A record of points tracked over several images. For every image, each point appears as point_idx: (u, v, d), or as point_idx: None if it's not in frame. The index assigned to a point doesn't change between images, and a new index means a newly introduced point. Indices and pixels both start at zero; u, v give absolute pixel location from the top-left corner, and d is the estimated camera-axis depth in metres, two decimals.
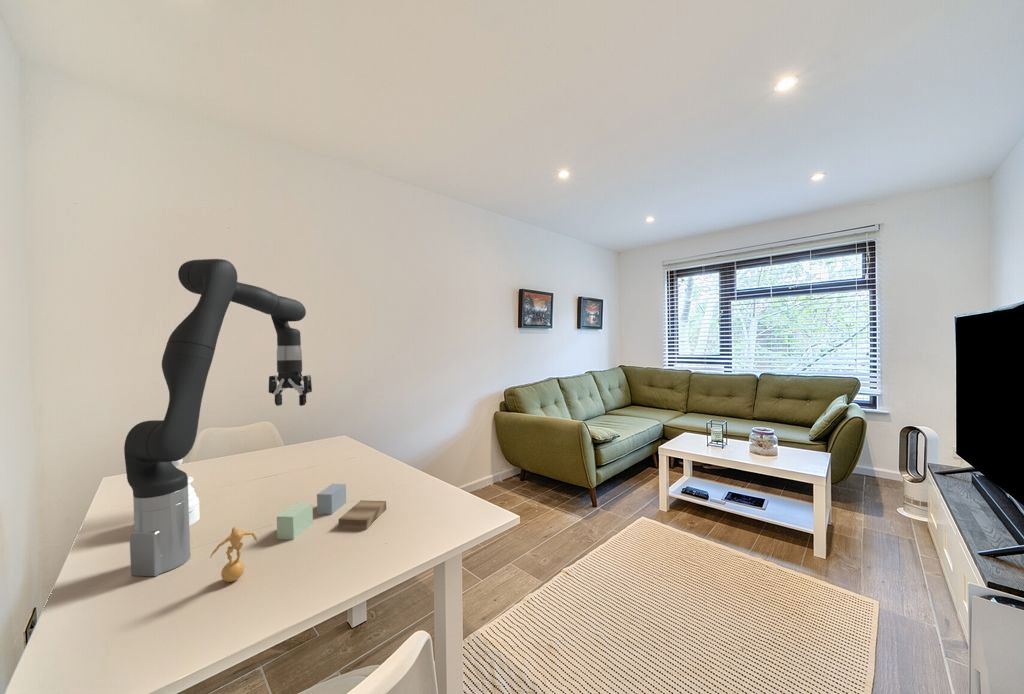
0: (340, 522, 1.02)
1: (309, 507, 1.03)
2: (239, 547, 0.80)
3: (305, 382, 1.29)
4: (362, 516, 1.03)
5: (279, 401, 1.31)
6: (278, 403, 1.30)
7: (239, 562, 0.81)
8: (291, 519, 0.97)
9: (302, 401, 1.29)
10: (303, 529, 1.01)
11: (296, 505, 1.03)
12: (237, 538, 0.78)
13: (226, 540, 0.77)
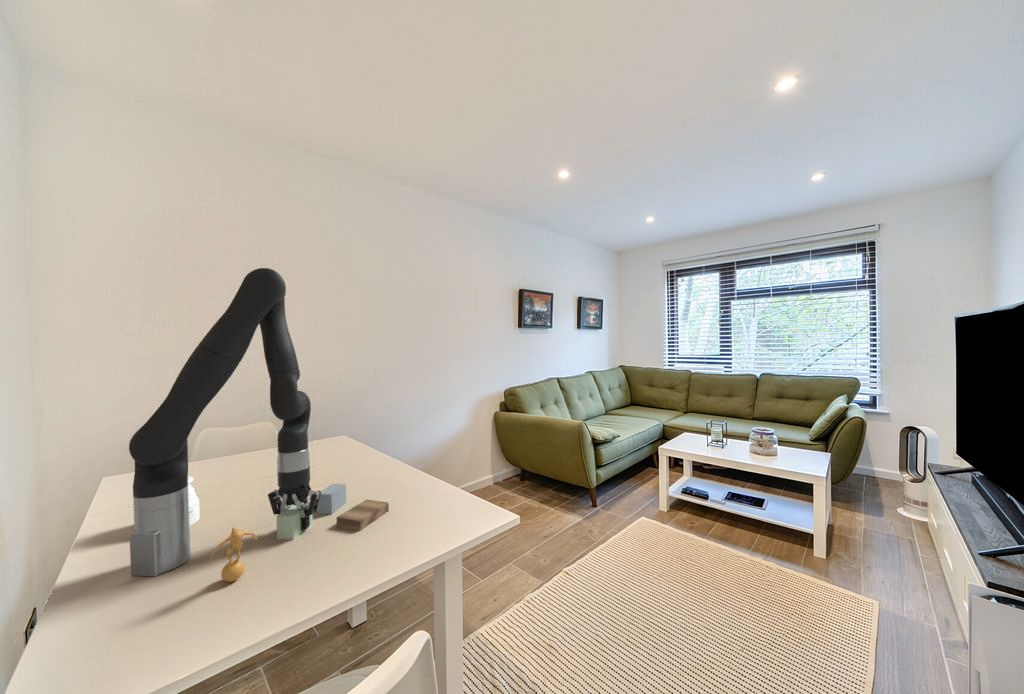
0: (338, 520, 1.03)
1: None
2: (239, 547, 0.80)
3: (312, 502, 0.99)
4: (358, 517, 1.03)
5: None
6: None
7: (239, 562, 0.81)
8: (291, 519, 0.97)
9: (304, 525, 1.00)
10: None
11: None
12: (237, 538, 0.78)
13: (226, 540, 0.77)
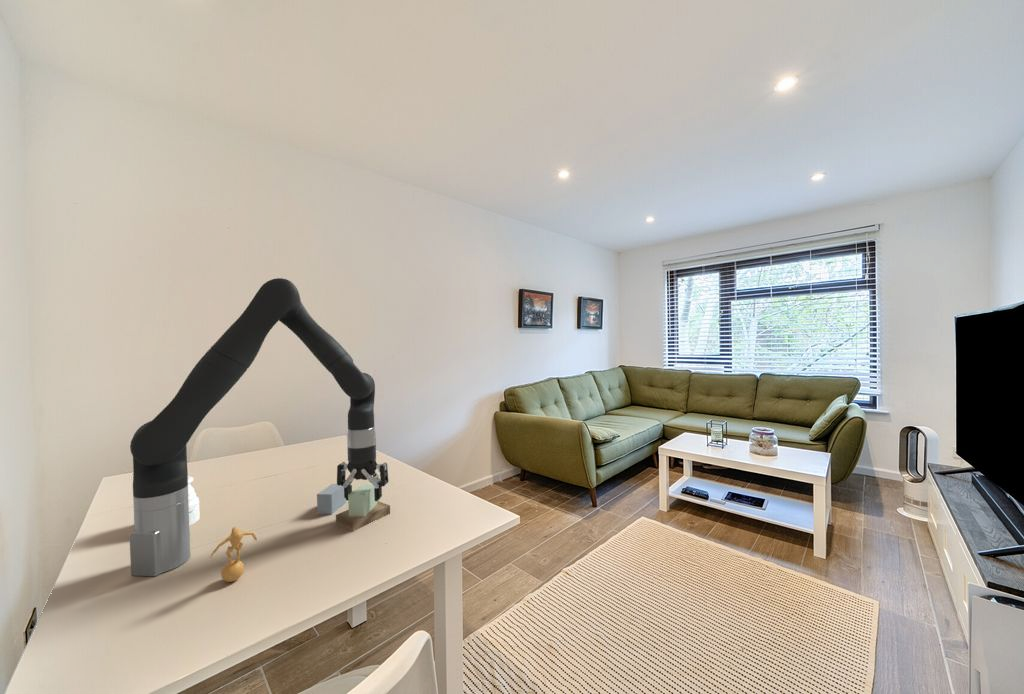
0: (336, 518, 1.04)
1: None
2: (239, 547, 0.80)
3: (382, 473, 1.05)
4: (353, 517, 1.03)
5: None
6: None
7: (239, 562, 0.81)
8: (362, 497, 1.03)
9: (378, 496, 1.06)
10: (371, 507, 1.07)
11: (362, 485, 1.10)
12: (237, 538, 0.78)
13: (226, 540, 0.77)
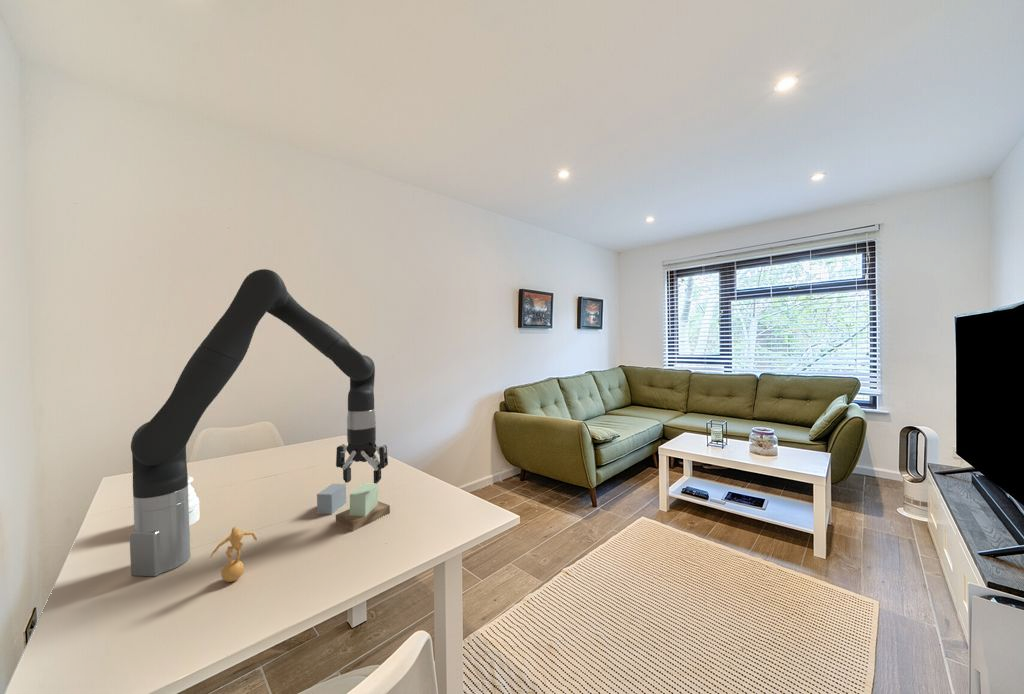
0: (336, 518, 1.04)
1: (376, 488, 1.10)
2: (239, 547, 0.80)
3: (381, 455, 1.05)
4: (353, 517, 1.03)
5: (348, 476, 1.07)
6: (347, 479, 1.07)
7: (239, 562, 0.81)
8: (364, 497, 1.03)
9: (377, 478, 1.06)
10: (371, 507, 1.07)
11: (363, 485, 1.10)
12: (237, 538, 0.78)
13: (226, 540, 0.77)
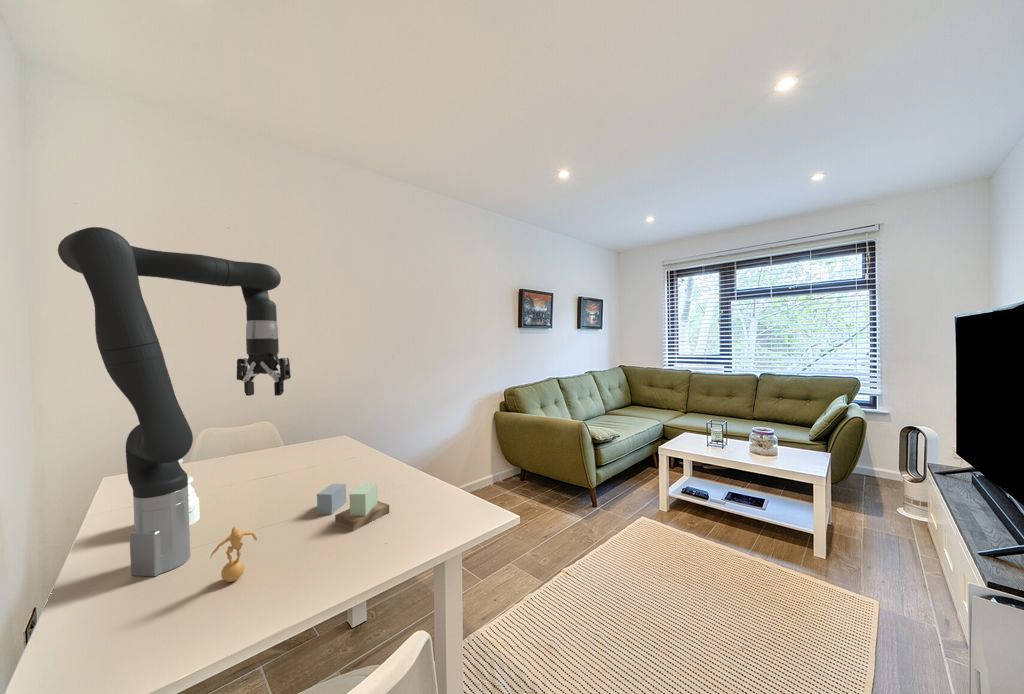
0: (336, 518, 1.04)
1: (375, 487, 1.11)
2: (239, 547, 0.80)
3: (282, 366, 1.03)
4: (353, 517, 1.03)
5: (250, 390, 1.05)
6: (249, 392, 1.05)
7: (239, 562, 0.81)
8: (364, 496, 1.04)
9: (278, 390, 1.04)
10: (371, 506, 1.08)
11: (362, 485, 1.10)
12: (237, 538, 0.78)
13: (226, 540, 0.77)
